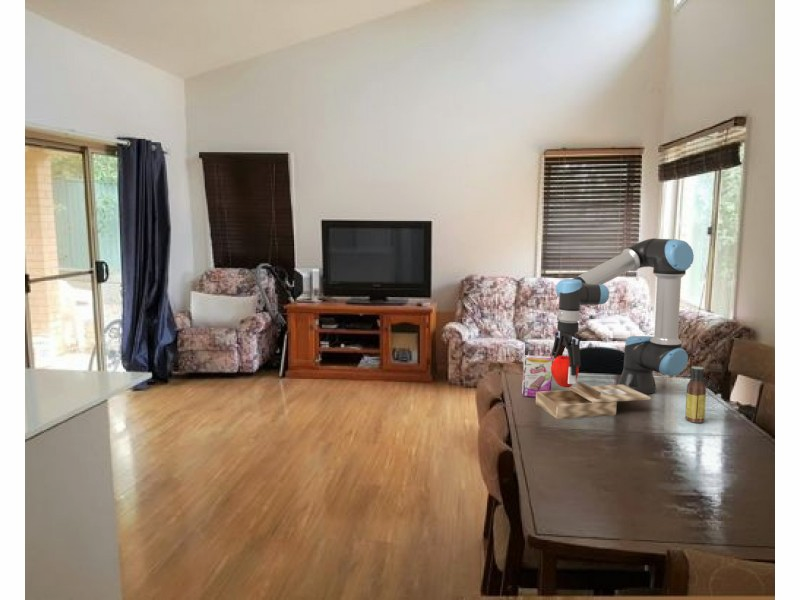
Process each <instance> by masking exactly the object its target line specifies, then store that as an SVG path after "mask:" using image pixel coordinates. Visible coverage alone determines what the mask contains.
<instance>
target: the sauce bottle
mask: <svg viewBox="0 0 800 600" xmlns="http://www.w3.org/2000/svg"><path fill="white" fill-rule="evenodd" d="M704 370H705V368H704V367H702V366H696V365H695V366H691V368H690V372H691V376H690V380H689V381H688V383H687V384H686V385H687V386H686V395H685V397H686V398H685V399H686V400H685V401H686V402H685V415H684V416H685V420H686V421H688V422H689V421H690V423H694V424H701V423H704V421H705V417H706V415H705V414H706V401H707V400H706V398H707V397H706V396H707V393H706V392H707V386H706V384H705V382H704V378H703V377H704V372H705V371H704Z"/></svg>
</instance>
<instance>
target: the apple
mask: <svg viewBox="0 0 800 600" xmlns="http://www.w3.org/2000/svg"><path fill="white" fill-rule="evenodd" d="M569 365H570V361H569V356H568V354H567V355H562V356H558V357H556V358H555V359H553V363H552V366H551V373H552V379H554V381H555V382H556V384H557V385H558V386H559V387H562V388H569V387H573V385H574V384H568V372H569ZM579 368H580V366H578V367H577V371H576V380H577V378H578V376H579V371H580V369H579Z"/></svg>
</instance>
